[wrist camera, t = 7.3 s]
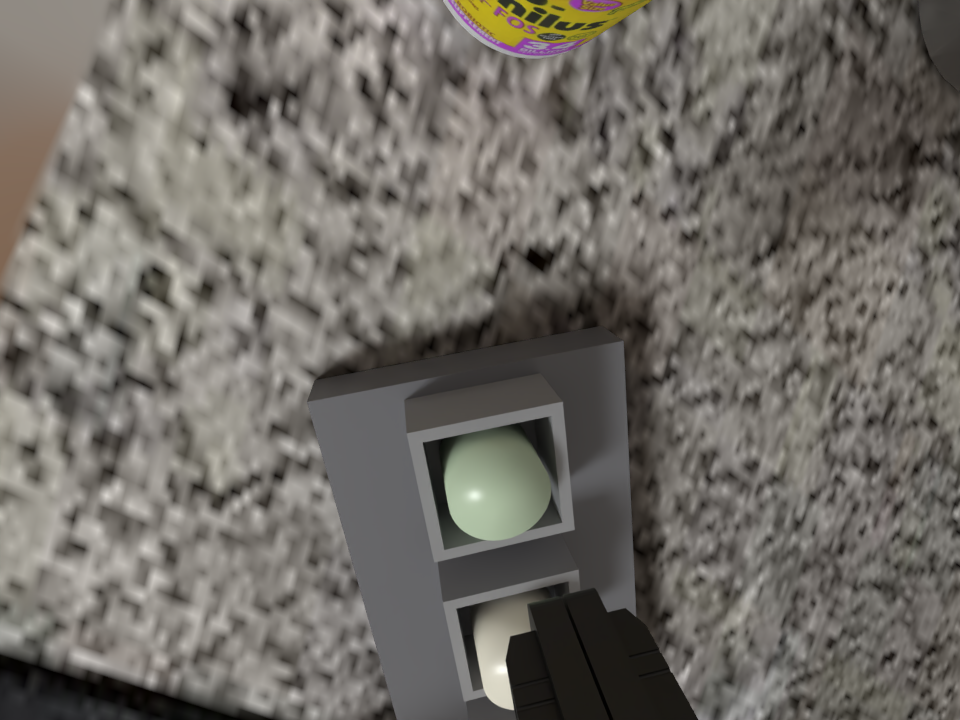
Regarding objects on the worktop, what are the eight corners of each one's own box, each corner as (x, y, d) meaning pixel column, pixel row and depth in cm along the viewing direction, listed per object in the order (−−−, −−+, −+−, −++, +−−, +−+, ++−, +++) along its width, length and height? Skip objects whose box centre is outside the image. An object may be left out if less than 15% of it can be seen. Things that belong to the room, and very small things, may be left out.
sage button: (522, 402, 18) (546, 439, 16) (532, 480, 19) (555, 527, 17) (432, 420, 18) (440, 462, 15) (447, 499, 19) (456, 550, 16)
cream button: (547, 567, 20) (572, 627, 17) (555, 631, 21) (579, 696, 18) (464, 587, 19) (476, 651, 17) (476, 651, 20) (489, 720, 18)
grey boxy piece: (601, 325, 20) (657, 364, 16) (623, 677, 27) (666, 769, 23) (314, 380, 19) (294, 437, 15) (411, 733, 26) (415, 842, 21)
